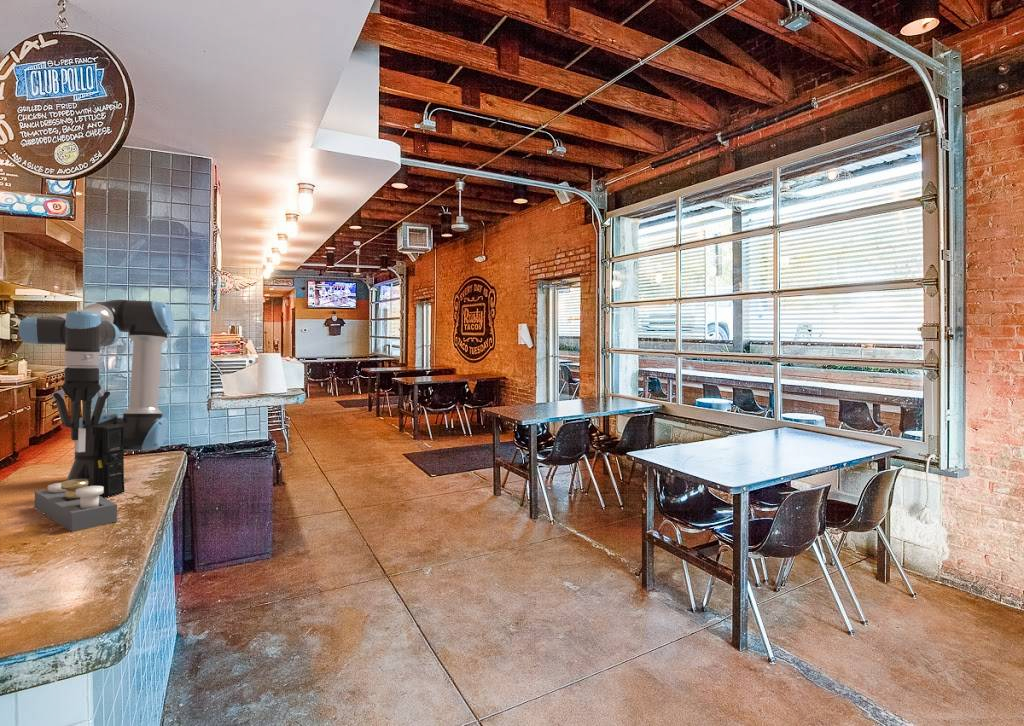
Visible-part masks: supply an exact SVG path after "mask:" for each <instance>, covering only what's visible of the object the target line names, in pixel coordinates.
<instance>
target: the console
mask: <svg viewBox="0 0 1024 726" xmlns="http://www.w3.org/2000/svg"><path fill="white" fill-rule="evenodd" d="M65 500H66V492H61V493H55V494H53V493H51V492H48V488H47V489H42V490H35V491H34V509H35V508H36V509H35V510H37V511H38V510H39V511H38V512H40V513H41V512H42V513H41V514H43V513H44V514H45V516H46V515H47V516H46V517H48V518H49V517H50V518H49V519H51V520H53V521H54V522H55V523H58V524H59V525H61V526H62V527H63V528H65V529H67V530H68V531H70V532H71V531H72V532H73V531H74V532H78V531H82V529H83V530H86V529H91V528H92V529H93V528H95V527H96V526H97V527H100V525H101V526H105V525H104V524H106V525H110V524H113V523H112V522H115V523H118V504H117V503H115V502H114V501H112V500H109V499H107V498H103V497H101V496H99V506H98V507H93V508H88V509H83V510H82V509H80V499H78V500H72V501H65ZM44 514H43V515H44ZM109 523H110V524H109ZM77 530H78V531H77Z"/></svg>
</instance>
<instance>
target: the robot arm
mask: <svg viewBox="0 0 1024 726" xmlns="http://www.w3.org/2000/svg"><path fill="white" fill-rule="evenodd" d="M174 329H175V319H174V314H173V311H172V308H171V307H170V306H169V304H168V303H166V302H161V301H154V300H152V301H151V300H130V299H128V300H127V299H113V300H106V301H100V302H96V303H92V304H89V305H86V306H85V307H84V308H82V309H79V310H76V311H75V310H71V311H68V312H66V313H63V314H58V315H53V316H49V317H37V316H34V317H25V318H22V320H21V321H20V322H19V324H18V336H19V338H20V340H21V341H23V342H24V343H26V344H32V345H33V344H35V345H61V346H62V345H64V347H65V348H64V366H66V367H65V368H64V375H63V378H64V379H63V384H62V386H61V389H59V390H57V391H55V392H51V393H50V396H51V397H52V399H54V401H55V403H56V406H57V407H56V408H57V409H58V413H59V417H60V420H61V424H62V426H64V427H65V428H70V439H71V440H72V441H74V461H73V464H72V466H71V468H70V471H69V473H68V475H67V480H72V479H88V485H90V486H93V485H94V457H93V455H94V435H93V427H94V426H101V425H108V424H114V422H115V417H116V422H117V424H123V425H124V451H129V452H130V451H132V452H133V451H142V452H145V451H154V450H155V451H156V450H158V449H160V447H162V445H163V444H164V442H165V440H166V437H167V434H168V429H169V424H168V423H169V421H168V419H167V418H166V417H165V416H164V417H163V412H162V411H161V410H160V409H159V407H158V406H159V395H160V394H159V393H160V380H161V379H160V377H161V362H162V348H163V343H164V342H165V341H167V340H168V335H171V334H173V333H174V331H175V330H174ZM121 332H123V333H128V338H129V339H131V340H132V342H133V344H132V356H131V357H132V359H131V361H132V362H131V370H130V371H131V374H130V375H131V376H130V386H129V387H130V389H129V400H128V401H129V402H128V408H127V409H126V410H125V411H123V414H122V417H119V416H118V414H117V413H113V412H111V413H102V412H103V410H104V406H105V404H106V400H107V399H108V398H109V396H110V395H111V392H110V391H107V390H105V389H103V388H102V386H101V384H100V369H99V368H97V367H99V366H100V352H101V351H100V350H101V349H100V348H101V347H104V348H105V347H107V346H112V345H114V344H115V343H117V342H118V341H119V339H120V335H121ZM65 395H66V396H67V397H68V398H69V399H70V408H71V409H70V415H69V413H68V410H67V406H66V403H65V400H64V398H65ZM96 395H97V399H96V402H95V406H94V408H93V412H92V403H93V398H94V397H95V396H96ZM81 402H82V417H80V410H81V409H80V408H81V407H80V406H81ZM69 416H70V417H69Z"/></svg>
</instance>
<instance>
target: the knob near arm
mask: <svg viewBox="0 0 1024 726" xmlns="http://www.w3.org/2000/svg"><path fill="white" fill-rule="evenodd" d="M47 489H48V492H51V493H53V494H55V493H61V492H66V490H65V489H61V482H56V483H51V484H48V485H47ZM65 501H66V500H65Z"/></svg>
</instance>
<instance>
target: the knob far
mask: <svg viewBox="0 0 1024 726" xmlns="http://www.w3.org/2000/svg"><path fill="white" fill-rule="evenodd" d="M103 493H104V487H103V486H93V485H90V486H87V487H82V488H78V489H76V497H80V509H82V510H83V509H88V508H93V507H98V506H99V495H101V494H103Z"/></svg>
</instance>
